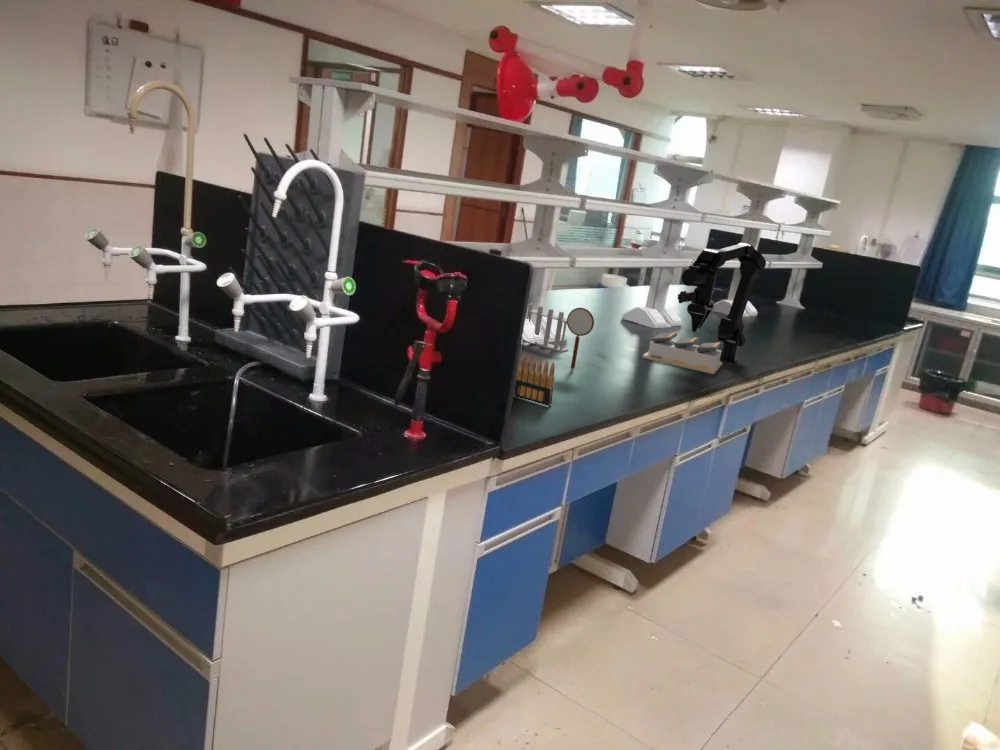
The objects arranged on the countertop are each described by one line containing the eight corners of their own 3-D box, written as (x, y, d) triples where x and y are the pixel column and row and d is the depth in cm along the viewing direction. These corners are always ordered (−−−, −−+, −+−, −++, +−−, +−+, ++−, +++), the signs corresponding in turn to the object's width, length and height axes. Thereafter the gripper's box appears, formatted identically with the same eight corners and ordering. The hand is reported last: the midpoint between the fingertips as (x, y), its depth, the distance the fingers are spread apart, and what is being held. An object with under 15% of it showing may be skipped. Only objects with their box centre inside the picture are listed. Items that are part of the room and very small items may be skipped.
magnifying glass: (586, 373, 230) (596, 310, 225) (584, 374, 229) (595, 311, 223) (560, 367, 234) (570, 304, 228) (558, 368, 232) (568, 305, 227)
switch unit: (654, 349, 278) (657, 334, 276) (722, 364, 269) (725, 348, 267) (642, 357, 262) (645, 341, 260) (713, 374, 253) (717, 357, 251)
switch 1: (659, 336, 274) (659, 333, 274) (677, 335, 271) (677, 332, 271) (651, 341, 264) (651, 337, 263) (670, 340, 261) (669, 337, 261)
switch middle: (681, 341, 271) (681, 337, 271) (699, 340, 268) (698, 337, 268) (674, 346, 261) (673, 342, 260) (692, 345, 258) (692, 342, 258)
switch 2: (703, 345, 268) (703, 342, 268) (721, 345, 265) (721, 341, 265) (696, 351, 258) (696, 347, 257) (715, 350, 255) (715, 347, 255)
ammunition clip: (511, 397, 196) (517, 353, 193) (514, 396, 198) (521, 352, 194) (548, 408, 192) (555, 363, 188) (551, 406, 193) (558, 362, 190)
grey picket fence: (503, 335, 268) (508, 299, 264) (511, 334, 271) (516, 298, 267) (560, 352, 253) (566, 315, 250) (567, 351, 256) (574, 314, 253)
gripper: (687, 279, 269) (679, 321, 274) (676, 284, 253) (667, 328, 257) (718, 285, 265) (709, 328, 269) (709, 290, 249) (700, 335, 253)
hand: (696, 329), depth 262 cm, fingers open, 9 cm apart
